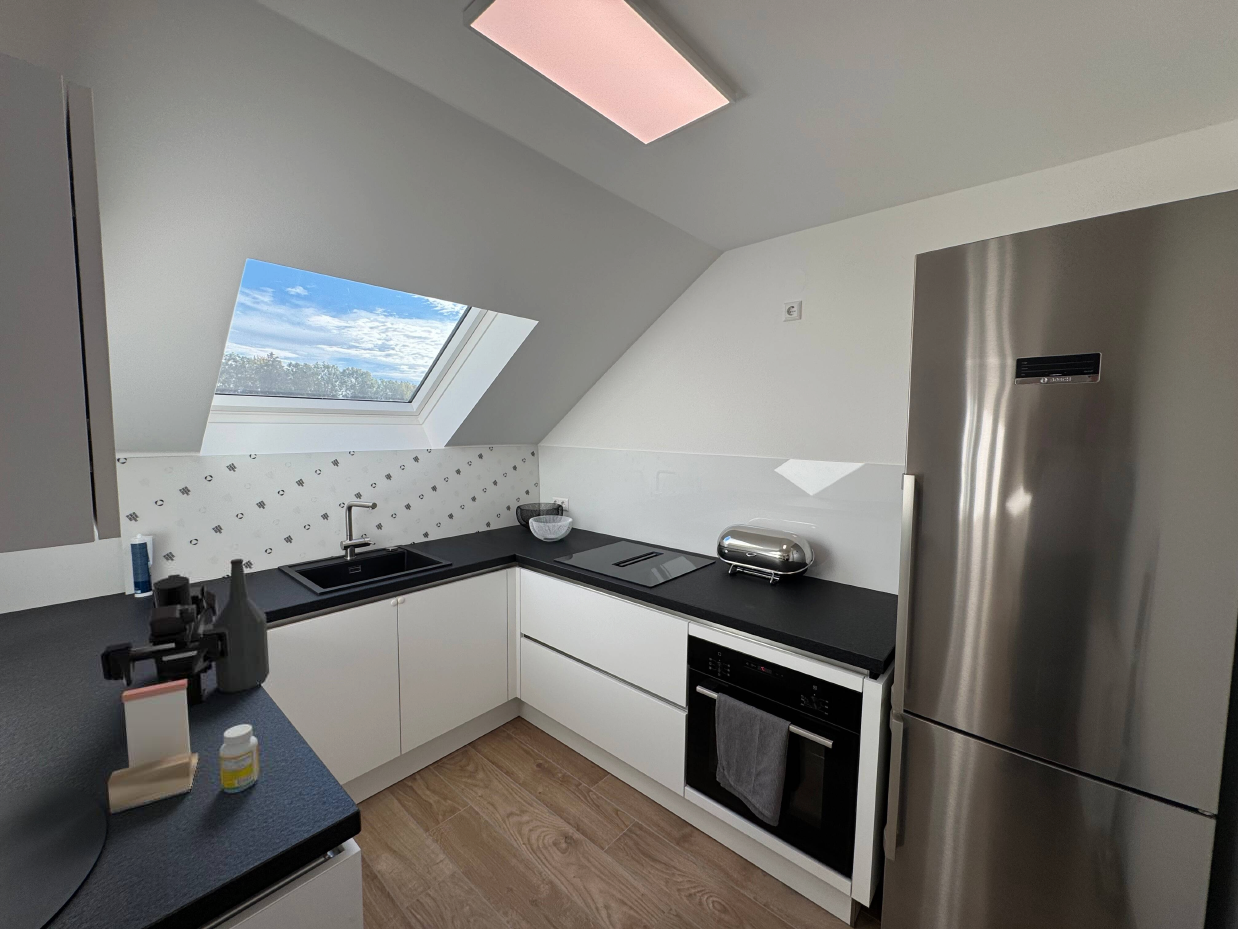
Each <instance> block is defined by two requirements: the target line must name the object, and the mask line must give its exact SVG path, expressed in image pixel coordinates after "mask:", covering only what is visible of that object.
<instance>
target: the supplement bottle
mask: <svg viewBox="0 0 1238 929" xmlns="http://www.w3.org/2000/svg"><path fill="white" fill-rule="evenodd" d="M253 734H254V731H253V725H251V724H249V723H248V724H247V723H245V724H238V725H235V726H232V727H230V728H227V729H226V730H225V731H224V732H223V744H222V745H221V747H220V749H219V768H220V769H219V770H220V783H221V784H220V785H221V789H222V788H223V789H225V790H234V789H239V788H242V787H245V786H247V785H248V784H250V783H252V782H254V781H255V780H256V779H257V778H258V776H259V777H260V769H259V768H260V764H259V744H258V739H257V737H255V736H254V735H253Z"/></svg>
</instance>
